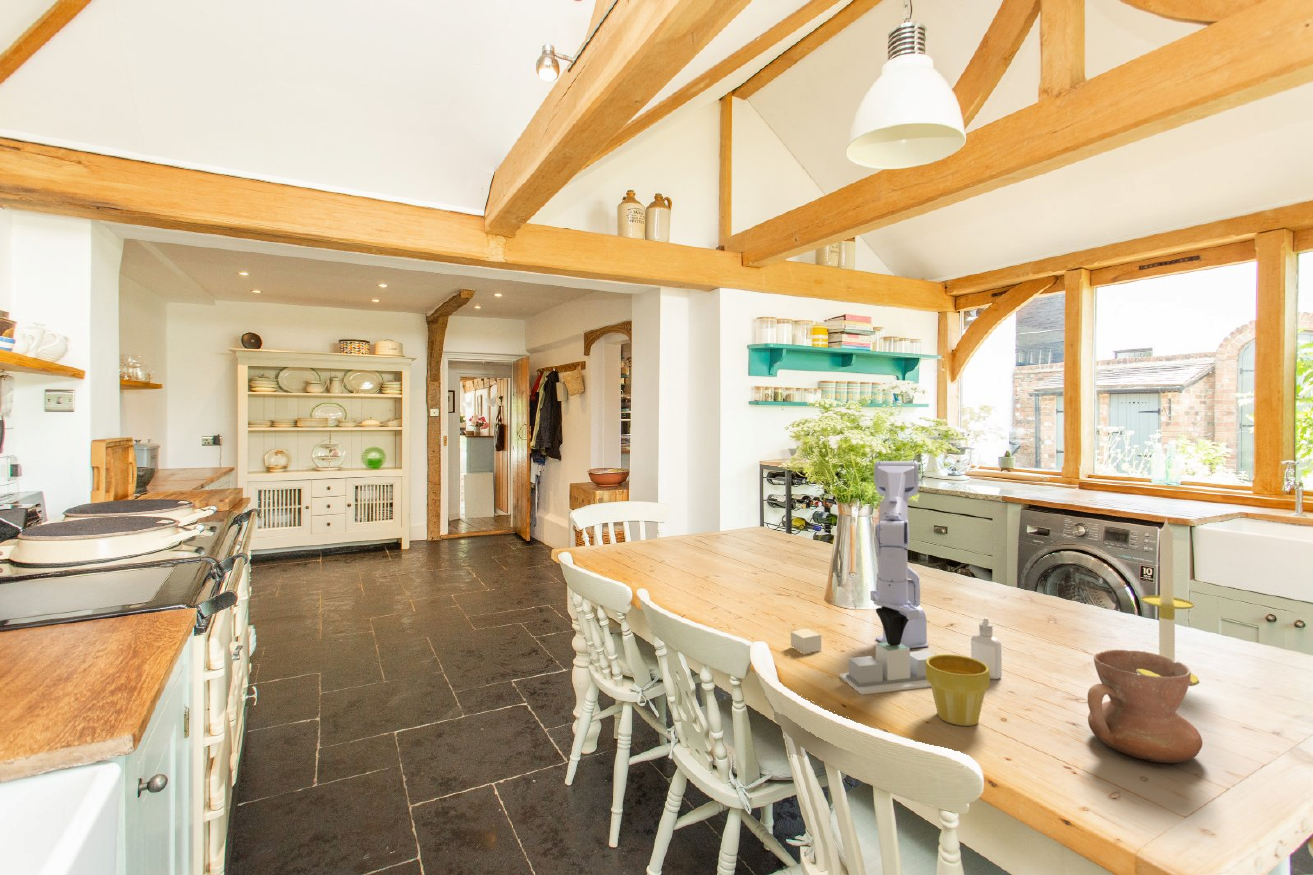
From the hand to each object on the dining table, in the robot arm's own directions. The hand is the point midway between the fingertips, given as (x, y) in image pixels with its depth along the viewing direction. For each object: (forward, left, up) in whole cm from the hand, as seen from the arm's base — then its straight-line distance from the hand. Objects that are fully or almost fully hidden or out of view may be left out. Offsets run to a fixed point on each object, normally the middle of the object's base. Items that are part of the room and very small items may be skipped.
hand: (893, 644), depth 128 cm
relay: (+10, -21, -8) cm, 25 cm away
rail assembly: (0, 0, -8) cm, 8 cm away
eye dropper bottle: (-20, +2, -8) cm, 22 cm away
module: (0, 0, -6) cm, 6 cm away
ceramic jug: (-23, +33, -8) cm, 41 cm away
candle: (-55, +11, -8) cm, 57 cm away
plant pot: (-2, +17, -8) cm, 19 cm away
